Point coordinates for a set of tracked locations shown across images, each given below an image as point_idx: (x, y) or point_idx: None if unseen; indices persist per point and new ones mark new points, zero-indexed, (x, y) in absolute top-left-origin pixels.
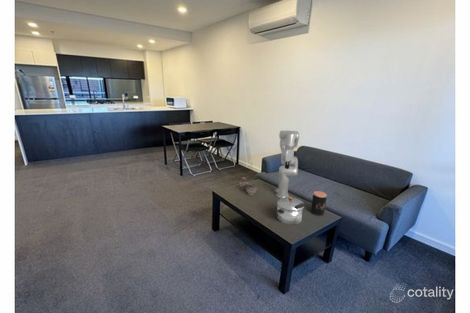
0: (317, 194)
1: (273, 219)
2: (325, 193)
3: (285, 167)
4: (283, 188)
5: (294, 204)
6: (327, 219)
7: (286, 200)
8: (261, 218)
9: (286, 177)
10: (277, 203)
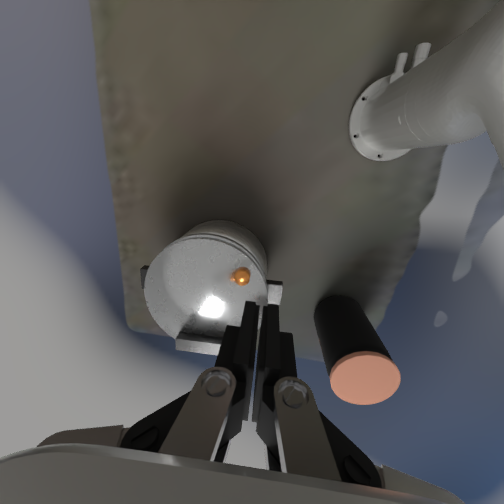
0: (345, 376)
1: (166, 234)
2: (389, 395)
3: (226, 330)
4: (386, 132)
5: (207, 315)
6: (316, 349)
7: (211, 271)
8: (131, 199)
9: (468, 123)
10: (165, 248)
